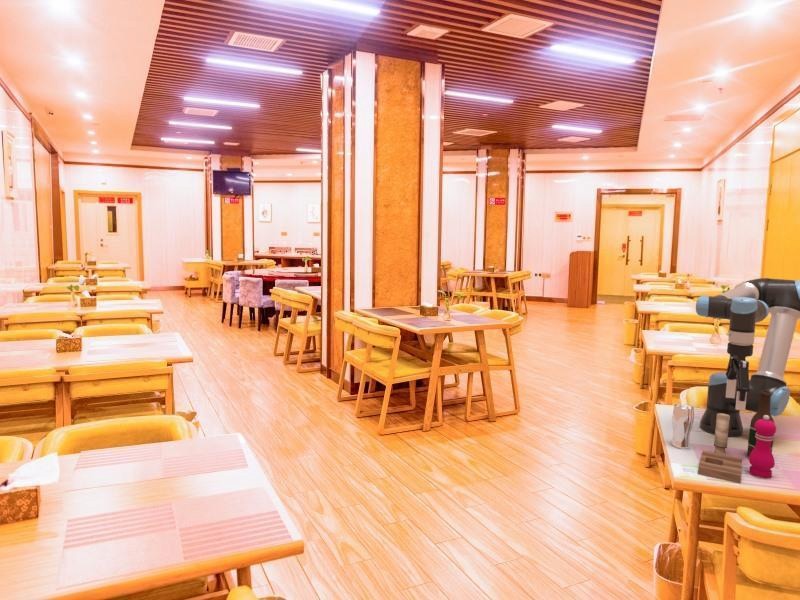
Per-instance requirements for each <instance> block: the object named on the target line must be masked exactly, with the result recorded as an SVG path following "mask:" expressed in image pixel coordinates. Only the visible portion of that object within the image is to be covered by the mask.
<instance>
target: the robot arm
mask: <svg viewBox="0 0 800 600" xmlns="http://www.w3.org/2000/svg"><path fill="white" fill-rule="evenodd" d="M695 312H696V314H697V316H700V317H706V318H712V319H713V318H714V319H723V320H729V329H728V332H727V333H726V336H728V338H727V340H728V343H727V348H726V353H727V354H728V355H729V360H728V363H727V368H726V371H719V372H714V373H712V374H710V376H709V380H708V384H707V398H706V407H705V411H704V412H703V414H702V416H701V418H700V420H699V421H700V422H699V428H700V429H701V430H703V431H704V432H706V433H710V434H713V435H715V430H716V419H717V414H718V413H722V414H727V415H729V416H730V420H729V430H728V437H739V436H742V435H743V434H744V427H743V423H742V419H741V415H740V412H741V411H748V412H749V411H750V412H754V413H757V411H758V407H759V402H760V396H761V395H760V392H761V391H769V392H771V393H772V396H771V402H770V414H771V416H772V417H778V416H781V415H782V414H783V413H784V411H785V410H786V408H787V406H788V403H789V401H790V395H791V389H790V387H788V386H787V382H786V380H785V379H784V376H785V371H786V366H787V364H788V359H789V356H790V352H791V351H790V350H791V347H792V344H793V343H792V342H793V339H794V334H795V331H796V327H797V321H798V320H799V319H800V280H797V279H785V278H784V279H782V278H781V279H780V278H768V277H763V278H762V277H760V278H755V279H750V280H749V279H748V280H747V281H743V282H741V283H740V282H739V283H738V284H736V285H735V286H734V288H732V289H729V290H727V291H724V292H723V293H719V294H717V295H714V296H709V295H706V296H705V295H700V296H699V297H698V298H697V299H696V303H695ZM769 314H770V315H771V316H770V320H769V323H768V327H767V330H766V331H767V332H766V334H765V335H766V336H765V340H764V343H763V346H762V351H761V355H760V357H759V362H758V367H757V369H756V370H757V371H756V372H754V373H752V374H751V375H750V374H749V373H750V372H749V370H750V369H749V366H750V363H749V362H750V361H747V360H746V358H747V357H752V356H753V354H754V353H753V352H754V345H753V344H755V334H756V331H755V330H756V323H759V322H762V321H764V320H765V319H766V318H767V317H768V316H769Z"/></svg>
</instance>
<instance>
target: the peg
mask: <svg viewBox="0 0 800 600" xmlns="http://www.w3.org/2000/svg"><path fill="white" fill-rule="evenodd" d="M729 420H730V416H729V415H727V414H722V413H718V414H717V419H716V430H715V434H714V442H713V446H714V452H715V453H720V454H725V455H726V449H727V448H728V440H729V439H728V437H729V436H728V430H729Z"/></svg>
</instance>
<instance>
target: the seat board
mask: <svg viewBox="0 0 800 600" xmlns="http://www.w3.org/2000/svg"><path fill="white" fill-rule="evenodd" d="M697 470H698V471H697V475H700V474H701V475H700V476H706V477H710V478H714V477H715V478H716V479H719V478H720V479H719V480H723V479H724V481H729V482H732V483H733V482H734V483H737V484H741V481H742V470H743V457H740V456H734V455H728V454H726V453H725V454H720V453H715V451H709V450H704V449H703V450H702V452H701V456H700V459H699V464H698V469H697Z"/></svg>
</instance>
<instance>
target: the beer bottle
mask: <svg viewBox="0 0 800 600" xmlns="http://www.w3.org/2000/svg"><path fill="white" fill-rule="evenodd" d="M760 395H761V396H760V402H759V407H758V411H757V412H755V414H754V415H753V416H752V418H751V420H750V425H749V431H748V432H749V434H748V441H747V442H748V443H747V453H746V454H747V455H746V456H747V458H749V456H750V454H751V452H752V451H753V449H754V447H755V445H756V437H755V435H756V434H755V433H756V432H757V431H756V430H755V428H754V426H755V423H756V421H757V420H760V419H763V416H764V415H768V416H769V417H770V419H769V420H770V421H772V422H773V423H774V424H775V425H776V423H775V421H774V418H773V416H771V414H770V402H771V396H772V393H771V392H769V391H761V392H760ZM774 435H775V433H774V434H773V436H774ZM774 437H775V436H774ZM774 437H773V440H772V441H771V451H772V452H773V448H774V447H773V446H774Z"/></svg>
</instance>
